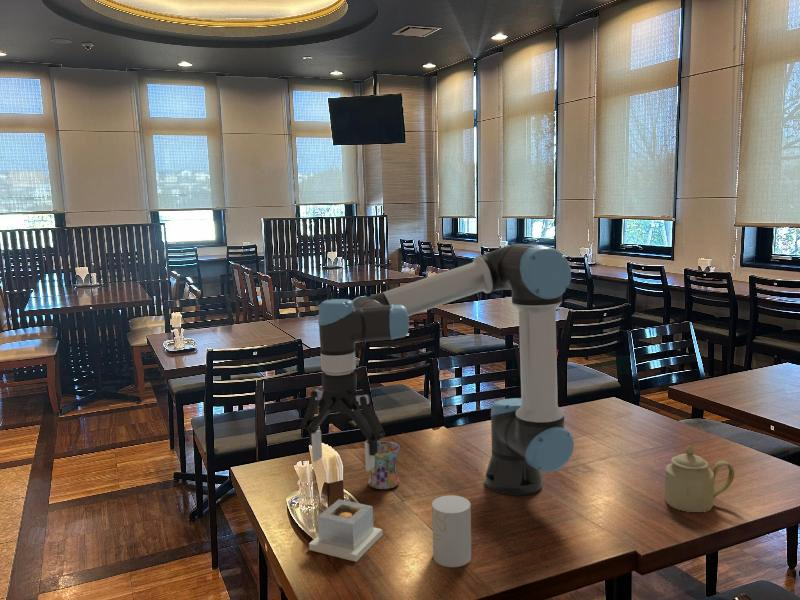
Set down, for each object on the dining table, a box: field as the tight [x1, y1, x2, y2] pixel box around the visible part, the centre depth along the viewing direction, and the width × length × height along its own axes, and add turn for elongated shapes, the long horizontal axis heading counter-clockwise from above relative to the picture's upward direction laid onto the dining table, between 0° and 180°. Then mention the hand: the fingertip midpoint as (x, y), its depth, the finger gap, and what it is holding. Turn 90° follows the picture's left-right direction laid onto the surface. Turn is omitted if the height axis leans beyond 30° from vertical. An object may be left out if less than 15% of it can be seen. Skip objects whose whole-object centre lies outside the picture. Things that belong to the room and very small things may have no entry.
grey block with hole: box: [317, 498, 375, 550], centre depth 143 cm, size 9×9×6 cm
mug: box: [367, 440, 401, 490], centre depth 173 cm, size 12×9×11 cm
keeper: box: [308, 512, 383, 563], centre depth 143 cm, size 12×12×6 cm
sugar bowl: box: [664, 444, 735, 513], centre depth 157 cm, size 15×11×15 cm
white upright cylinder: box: [431, 494, 472, 568], centre depth 136 cm, size 8×8×12 cm
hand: (343, 464), depth 141 cm, fingers open, 13 cm apart
